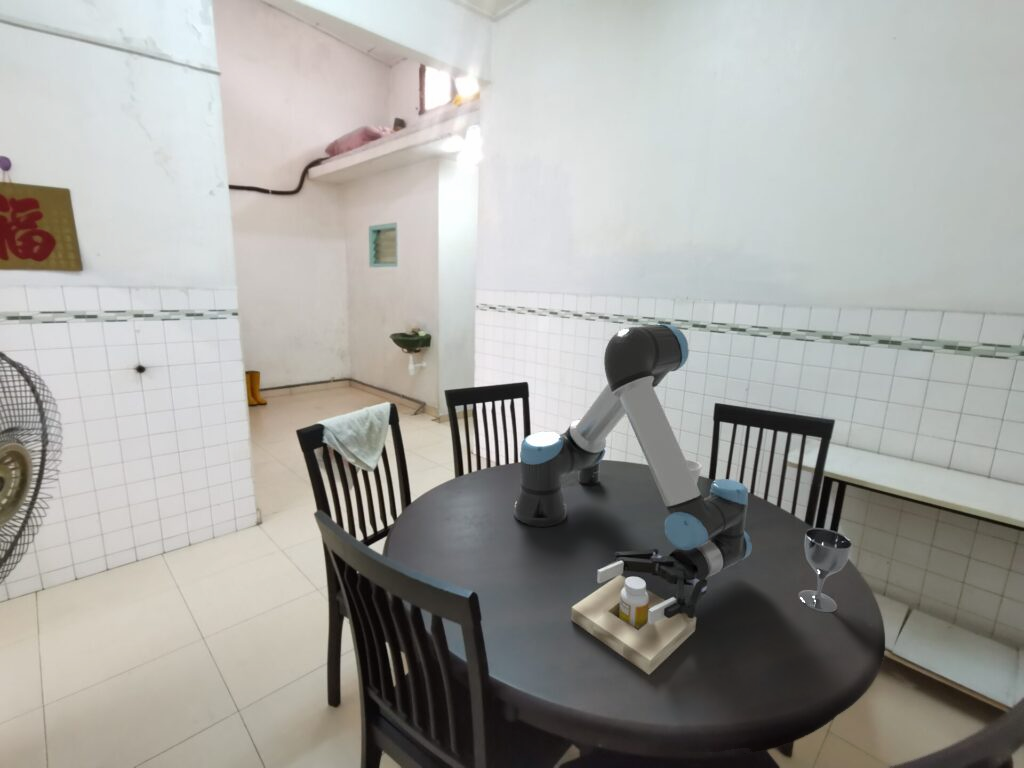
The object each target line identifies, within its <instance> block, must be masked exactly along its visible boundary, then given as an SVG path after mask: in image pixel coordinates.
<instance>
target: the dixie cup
mask: <svg viewBox="0 0 1024 768" xmlns="http://www.w3.org/2000/svg"><path fill="white" fill-rule="evenodd" d="M685 460H686V462H687V464H688V466H689V469H690V471H691V473H692V475H693V478H694V480H695V482H696V484H697V485H698V481H699V477H700V475H701V470H702V468H703V466H702V464H701V463H700V462H698V461H695V460H692V459H686V458H685Z"/></svg>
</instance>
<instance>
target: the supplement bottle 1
mask: <svg viewBox="0 0 1024 768" xmlns="http://www.w3.org/2000/svg"><path fill="white" fill-rule="evenodd" d="M600 468H601V461H600V462H599V463H598V464H596V465H594V466H592V467H590V468H586V469H582V470H579V471H578V481H579V483H581V484H583V485H586V486H595V485H597V484H598V483H599V482H600V471H601V469H600Z"/></svg>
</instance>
